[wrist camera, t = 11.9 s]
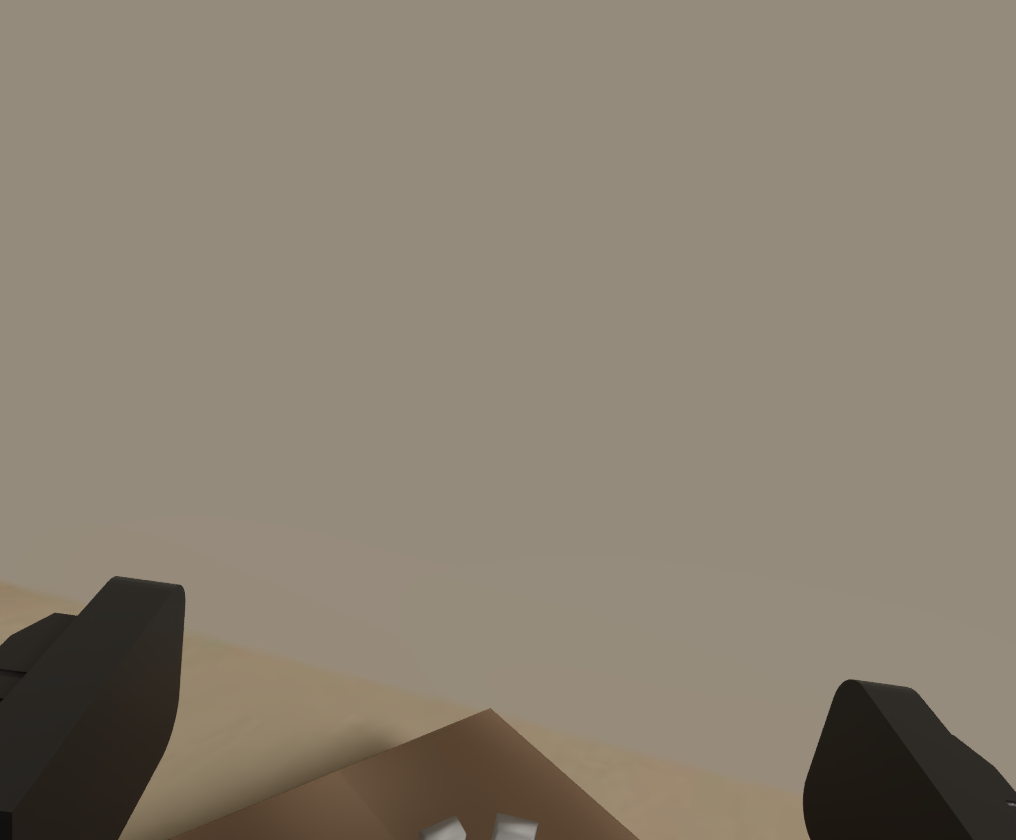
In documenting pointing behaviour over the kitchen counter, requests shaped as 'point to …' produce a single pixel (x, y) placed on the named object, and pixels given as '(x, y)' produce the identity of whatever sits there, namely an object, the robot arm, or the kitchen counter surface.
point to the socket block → (429, 794)
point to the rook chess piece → (509, 833)
